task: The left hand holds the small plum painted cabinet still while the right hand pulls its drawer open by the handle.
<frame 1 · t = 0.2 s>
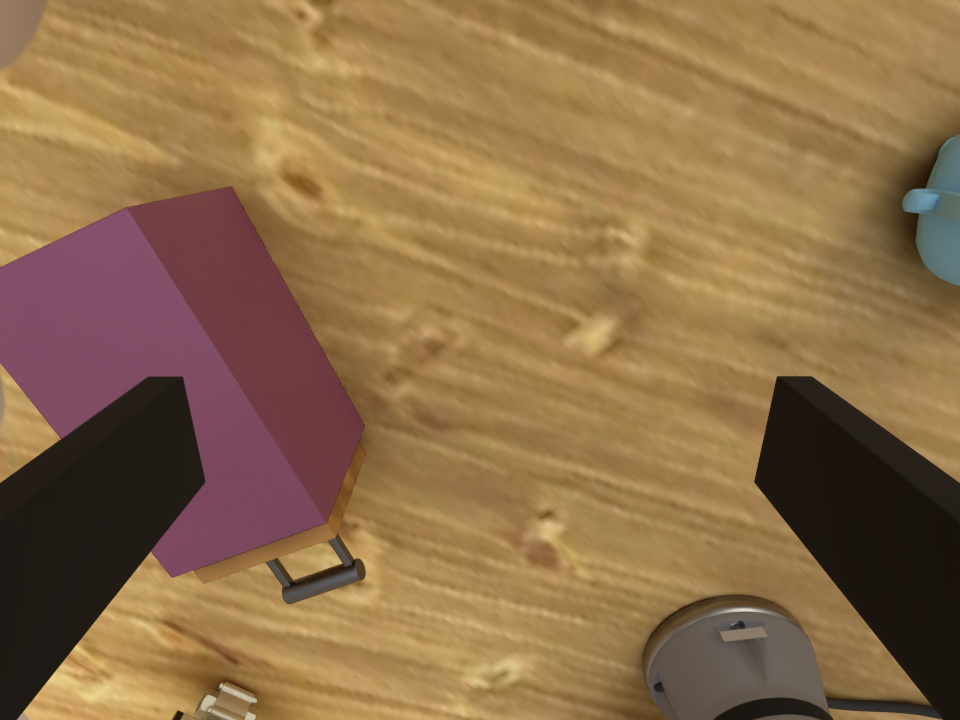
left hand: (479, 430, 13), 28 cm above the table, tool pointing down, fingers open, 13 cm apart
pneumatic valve: (233, 696, 55), on the table
cabinet: (239, 342, 41), on the table
drawer: (248, 443, 38), point 6 cm above the table, slide at 0.6 cm
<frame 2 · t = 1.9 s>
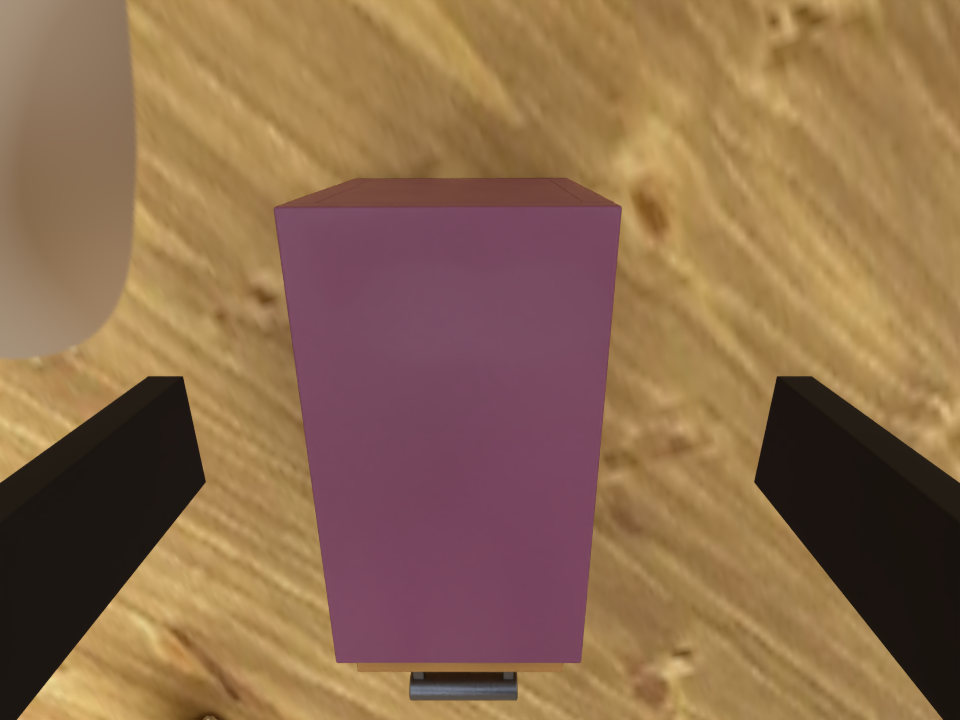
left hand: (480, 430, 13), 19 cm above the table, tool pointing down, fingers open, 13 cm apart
cabinet: (463, 357, 32), on the table
drawer: (461, 500, 29), point 6 cm above the table, slide at 0.6 cm
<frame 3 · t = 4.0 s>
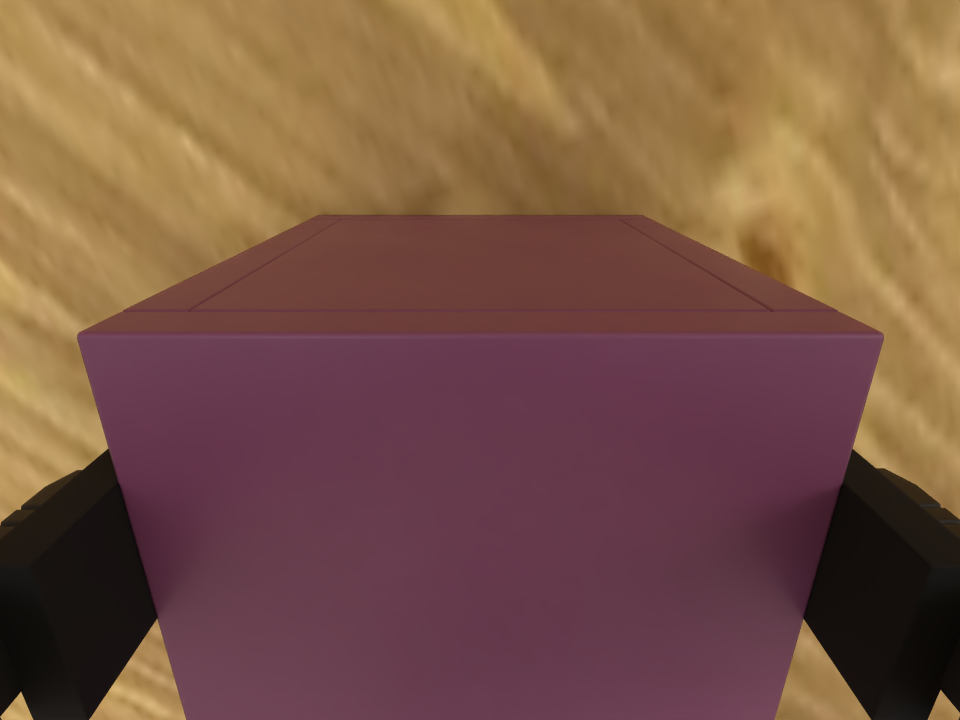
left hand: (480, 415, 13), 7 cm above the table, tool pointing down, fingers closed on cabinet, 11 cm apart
cabinet: (480, 467, 22), on the table, touching left hand
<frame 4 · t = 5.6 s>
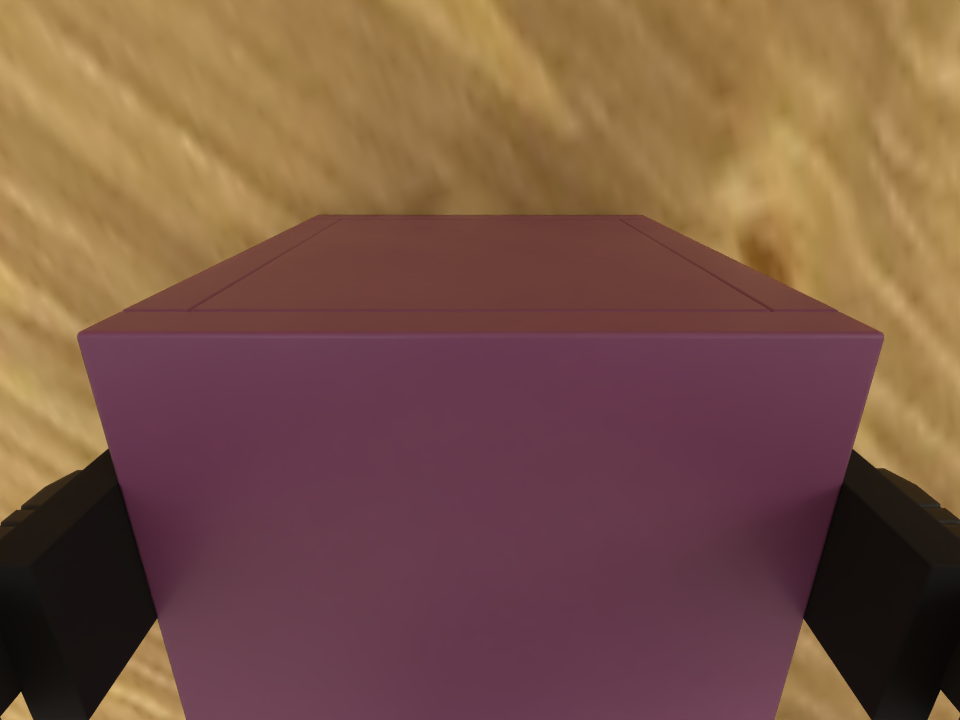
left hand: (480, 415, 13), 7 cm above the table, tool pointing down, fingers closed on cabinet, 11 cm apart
cabinet: (480, 467, 22), on the table, touching left hand
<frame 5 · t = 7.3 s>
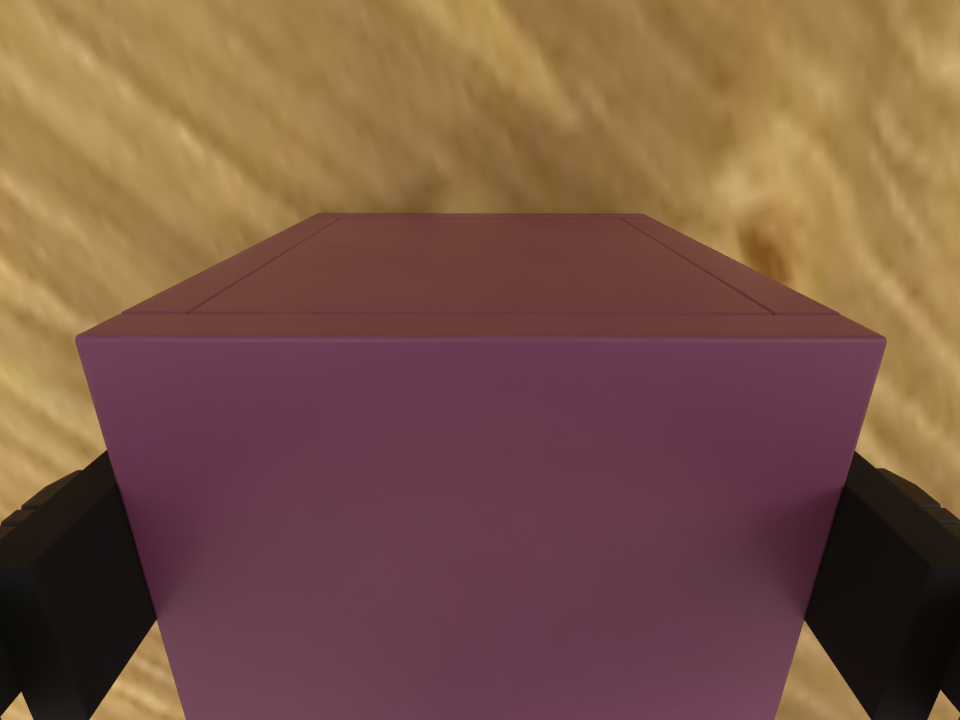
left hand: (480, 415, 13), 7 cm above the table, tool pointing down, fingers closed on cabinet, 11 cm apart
cabinet: (480, 466, 22), on the table, touching left hand
when the left hand's fingers open (7 cm above the table, at t = 9.0 s): cabinet stays where it is, on the table.
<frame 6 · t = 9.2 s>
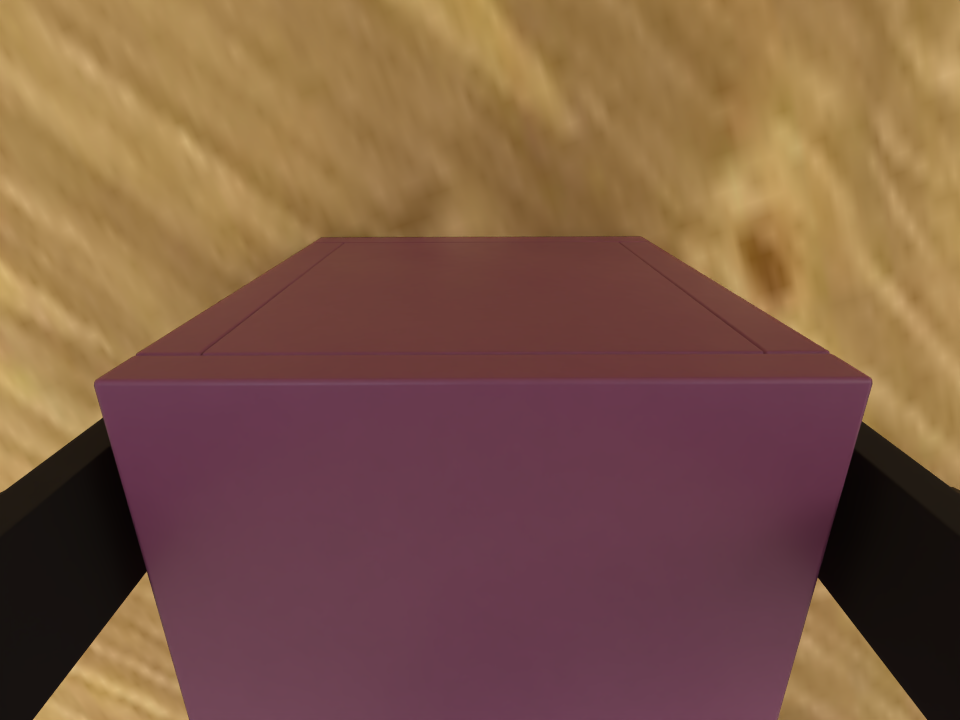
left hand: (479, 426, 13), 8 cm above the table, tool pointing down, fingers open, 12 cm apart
cabinet: (481, 483, 22), on the table
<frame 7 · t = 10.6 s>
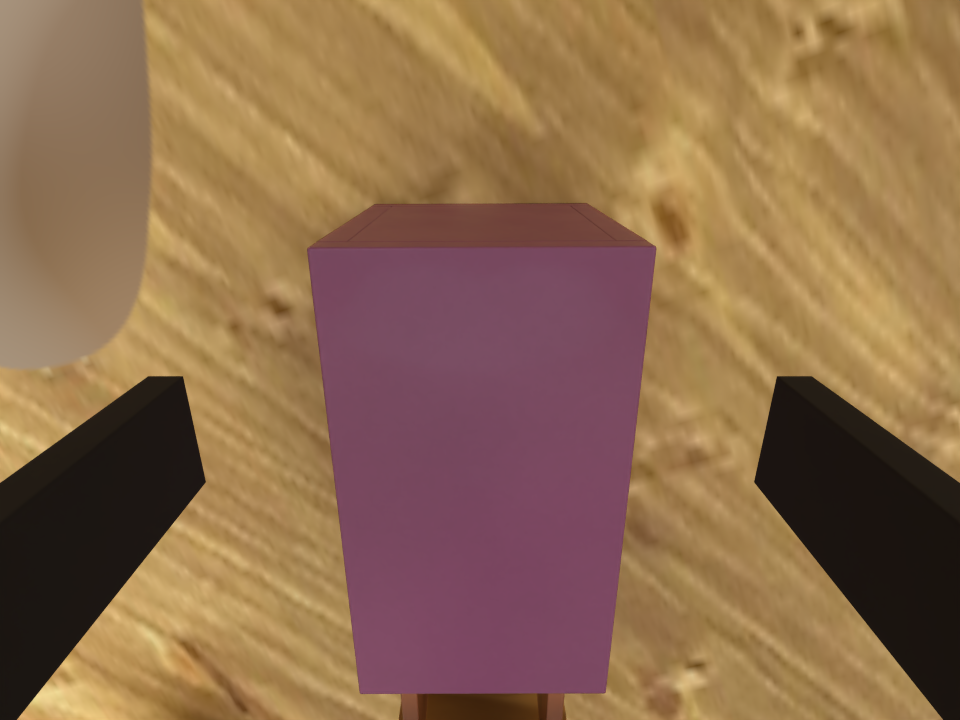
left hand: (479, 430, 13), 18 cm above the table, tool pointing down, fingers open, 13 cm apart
cabinet: (481, 380, 32), on the table
drawer: (482, 638, 31), point 6 cm above the table, slide at 8.3 cm
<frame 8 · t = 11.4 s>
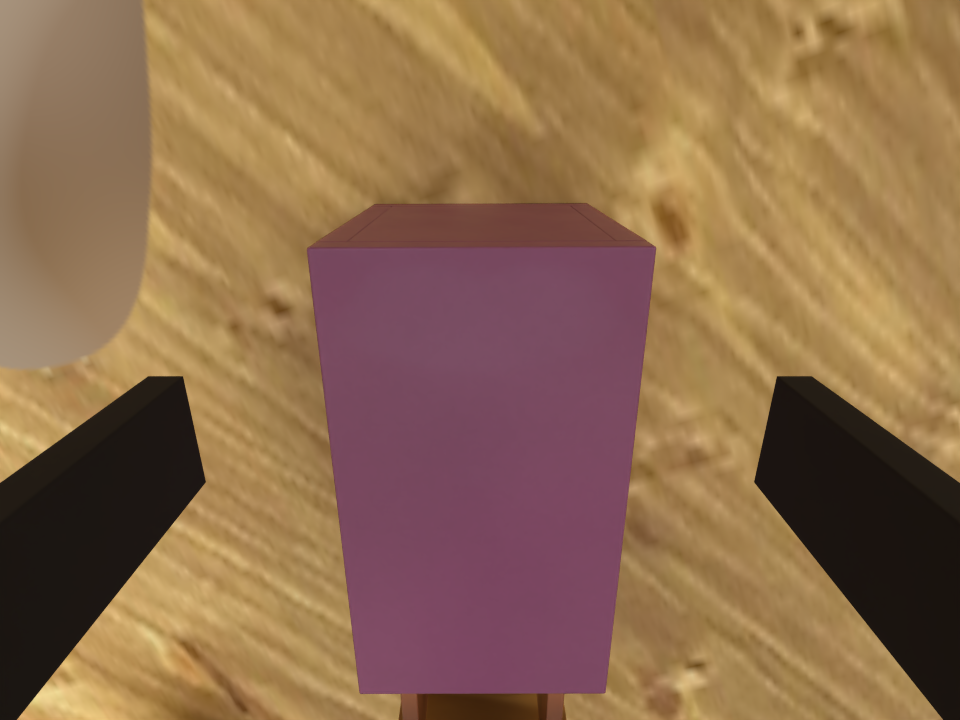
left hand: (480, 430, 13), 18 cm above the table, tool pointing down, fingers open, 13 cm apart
cabinet: (481, 380, 32), on the table
drawer: (482, 638, 31), point 6 cm above the table, slide at 8.3 cm
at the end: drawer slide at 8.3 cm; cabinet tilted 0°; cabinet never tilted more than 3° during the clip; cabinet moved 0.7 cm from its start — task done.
